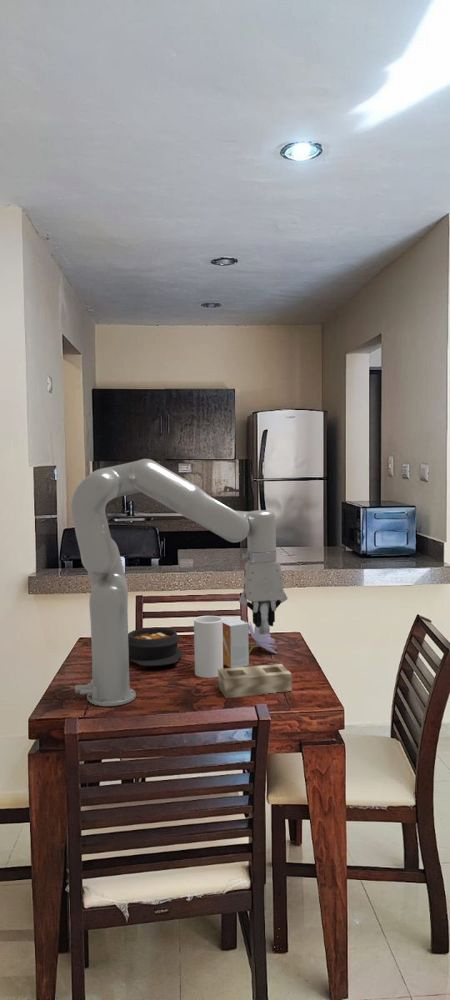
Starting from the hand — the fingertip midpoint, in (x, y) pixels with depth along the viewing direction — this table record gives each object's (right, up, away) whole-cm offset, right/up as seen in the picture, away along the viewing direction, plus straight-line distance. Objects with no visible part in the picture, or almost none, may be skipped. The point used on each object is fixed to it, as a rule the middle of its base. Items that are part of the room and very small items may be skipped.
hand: (263, 624), depth 195 cm
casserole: (-33, -16, +31) cm, 48 cm away
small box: (-8, -16, +26) cm, 32 cm away
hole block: (-2, -18, +2) cm, 18 cm away
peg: (0, -2, 0) cm, 2 cm away
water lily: (+2, -15, +38) cm, 41 cm away
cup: (-15, -17, +17) cm, 28 cm away
